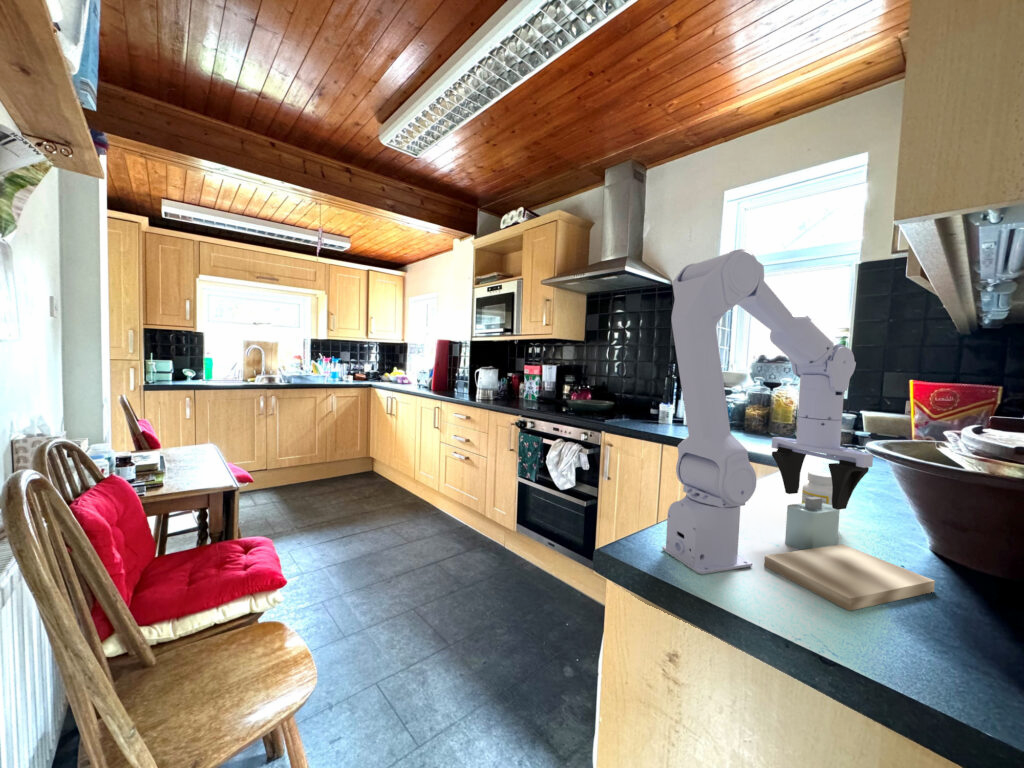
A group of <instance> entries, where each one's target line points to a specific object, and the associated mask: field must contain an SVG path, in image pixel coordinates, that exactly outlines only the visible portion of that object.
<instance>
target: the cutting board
mask: <svg viewBox="0 0 1024 768" xmlns="http://www.w3.org/2000/svg"><path fill="white" fill-rule="evenodd" d="M763 564H764V567H765V568H768V569H770V570H772V571H773V572H775V573H777V574H779V575H781V576H783V577H784V578H786V579H789V580H790V581H792V582H793V583H796V584H797V585H800V586H801V587H804V589H807V590H809V591H811V592H813V593H814V594H817V596H820V597H822V598H824V599H826V600H827V601H829V602H831V603H833V604H835V605H837V606H839V607H841V608H843V609H844V610H846V611H848V612H849V611H850V612H851V611H855V610H860V609H864V608H868V607H874V606H877V605H878V606H879V605H881V604H886V603H890V602H895V601H899V600H904V599H909V598H913V597H917V596H923V595H927V594H931V592H932V593H934V592H935V586H936V585H935V584H936V580H934V579H932V578H929V577H926V576H924V575H921V574H919V573H916V572H914V571H911V570H909V569H906V568H904V567H901V566H898V565H896V564H894V563H891V562H889V561H886V560H884V559H881V558H879V557H876V556H873V555H871V554H869V553H866V552H863V551H862V550H861V551H860V550H859V549H857V548H853V547H851V546H848V545H845V544H843V543H840V544H837V545H833V546H826V547H820V548H813V549H806V550H801V549H798V550H794V551H789V552H788V551H787V552H786V551H785V552H779V553H774V554H768V555H767V554H766V555H764V563H763ZM926 593H927V594H926ZM922 594H923V595H922Z"/></svg>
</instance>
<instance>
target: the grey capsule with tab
mask: <svg viewBox="0 0 1024 768" xmlns="http://www.w3.org/2000/svg"><path fill="white" fill-rule="evenodd" d="M840 511H841V509H839V510H837V509H834V508H832V505H829V504H824V503H822V498H819V497H806V500H805V503H802V502H801V503H794V504H793V503H792V504H787V508H786V521H785V523H786V524H785V525H786V526H785V535H784V536H785V538H784V539H785V540H784V542H785V544H786V545H788V546H789V547H792V548H794V549H797V550H806V549H813V548H820V547H826V546H833V545H838V538H839V527H840V526H839V525H840V524H839V523H840Z"/></svg>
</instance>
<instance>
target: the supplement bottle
mask: <svg viewBox="0 0 1024 768" xmlns="http://www.w3.org/2000/svg"><path fill="white" fill-rule="evenodd" d="M807 480H808V482H806V483H804V484H803V485H802V493H801V494H802V496H801V504H802V503H805V500H806V497H819V498H822V503H824V504H829V505H832V478H831V473H829V472H824V471H808V473H807Z"/></svg>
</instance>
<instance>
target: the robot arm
mask: <svg viewBox="0 0 1024 768" xmlns="http://www.w3.org/2000/svg"><path fill="white" fill-rule="evenodd" d="M671 283H672V291H673V296H674V302H673V307H672V311H671V320H670V321H671V328H672V334H673V340H674V341H673V342H674V346H675V347H674V348H675V354H676V360H677V361H676V362H677V365H678V373H679V379H680V380H679V381H680V386H681V393H682V399H683V406H684V412H685V413H684V414H685V417H686V425H687V432H688V433H687V434H688V436H687V437H686V438H684V439H683V440H682V441H681V442H679V444H678V445H677V451H678V453H677V454H678V456H677V461H676V465H675V471H676V472H675V473H676V477H677V479H678V481H679V483H681V484H682V485H683V489H682V491H683V493H685V496H684V497H683V498H682V499H679V500H677V501H673V502H672V503H671V504H670V506H669V508H668V510H667V516H666V517H667V519H666V521H667V522H666V536H665V537H666V539H665V545H662V546H661V548H662V550H663V551H664V552H666V553H667V554H669V555H670V556H672V557H673V558H675V559H676V560H678V561H679V562H681V563H682V564H684V565H686V566H687V567H688V568H690V569H691V570H692V571H695V573H697V574H699V575H705V574H711V573H717V572H724V571H730V570H738V569H743V568H749V567H750V568H751V567H752V566H753V562H752V561H750V560H748V559H746V558H744V557H743V556H741V555H739V539H740V537H739V535H740V522H741V521H740V520H741V507H743V506H746V503H747V502H748V501H749V500H750V499H751V498H752V497H753V495H754V493H755V491H756V488H757V474H756V470H755V469H754V467H753V465H752V464H751V462H750V460H749V459H750V458H749V455H748V450H747V448H746V447H745V446H744V445H743V444H742V443H741V442H740V441H739V440H738V439H737V438H736V437H735V436H734V435H733V434H732V432H731V426H730V420H729V419H730V417H729V412H728V404H727V399H726V398H727V397H726V392H725V390H726V389H725V383H724V376H723V368H722V363H721V354H720V348H719V347H720V346H719V341H718V335H717V334H718V332H717V325H718V323H719V321H720V320H721V319H722V318H723V316H724V315H725V313H727V312H728V311H730V310H731V309H732V308H734V307H735V306H739V307H740V308H742V309H743V310H744V311H746V312H747V313H748V314H749V315H751V316H752V317H753V318H755V320H757V321H758V322H760V323H761V324H762V325H764V326H765V327H766V328H767V329H769V331H770V333H769V340H770V342H772V344H773V345H774V346H775V347H776V348H778V350H780V351H781V352H782V353H783V354H784V355H785V356H786V357H787V359H788V362H790V365H791V370H792V372H793V375H794V376H795V377H797V378H799V390H798V392H799V393H798V409H797V410H798V411H797V422H796V423H797V425H796V426H797V427H796V439H795V438H790V437H789V438H788V437H782V436H773V437H771V448H772V449H776V451H772V452H771V457H772V459H774V461H775V463H776V465H777V467H778V469H779V472H780V476H781V478H782V482H783V486H784V492H785V494H788V495H792V494H793V495H794V494H798V493H799V490H800V489H799V488H800V482H801V481H800V479H801V471H802V467H803V463H804V461H805V458H806V456H812V457H816V458H823V459H826V460H831V461H835V463H831V462H830V463H828V468H829V472H830V473H829V474H831V478H832V508H834V509H837V510H839V509H840V510H846V509H847V507H848V504H849V502H850V498H851V496H852V494H853V492H854V491H855V489H856V487H857V485H858V484H859V483H860V482H861V480H862V479H863V478H864V477H865V475H867V473H868V472H869V470H870V468H872V467H873V461H874V454H873V453H867V452H864V451H859V450H855V449H852V448H847V447H843V446H841V441H842V439H841V438H842V428H843V427H842V424H843V422H842V421H843V411H844V410H843V409H844V397H845V396H844V393H845V392H846V391H848V388H849V387H850V379H851V377H852V376H853V374H854V372H855V369H856V366H857V365H856V364H857V362H856V361H855V356H854V352H853V350H852V349H850V348H849V347H847V346H845V345H844V344H841V343H834V342H833V341H832V340H831V339H830V338H829V337H828V336H827V335H826V334H825V333H824V332H822V330H821V329H820V328H819V327H817V325H815V323H814V322H813V321H812V319H811V317H810V316H808V315H805V314H799V313H797V314H792V313H791V311H790V310H789V309H788V308H787V307H786V305H785V304H784V303H783V302H782V300H780V298H779V297H778V296H777V294H776V293H775V292H774V291H773V290H772V288H770V286H769V285H768V284H767V283H766V282H765V268H764V265H763V264H762V263H761V262H760V261H758V260H757V257H756V256H755V255H754V253H752V252H751V251H750V250H748V249H746V248H736V249H734V250H731V251H730V252H727V253H725V254H722V255H717V256H715V257H712V258H709V259H706V260H702V261H699V262H696V263H690V264H687V265H685V266H684V267H683V268H682V269H681V270H680V271H679V273H678V274H677V275H676V276H675V278H674V279H673V280H672V281H671Z"/></svg>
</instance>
